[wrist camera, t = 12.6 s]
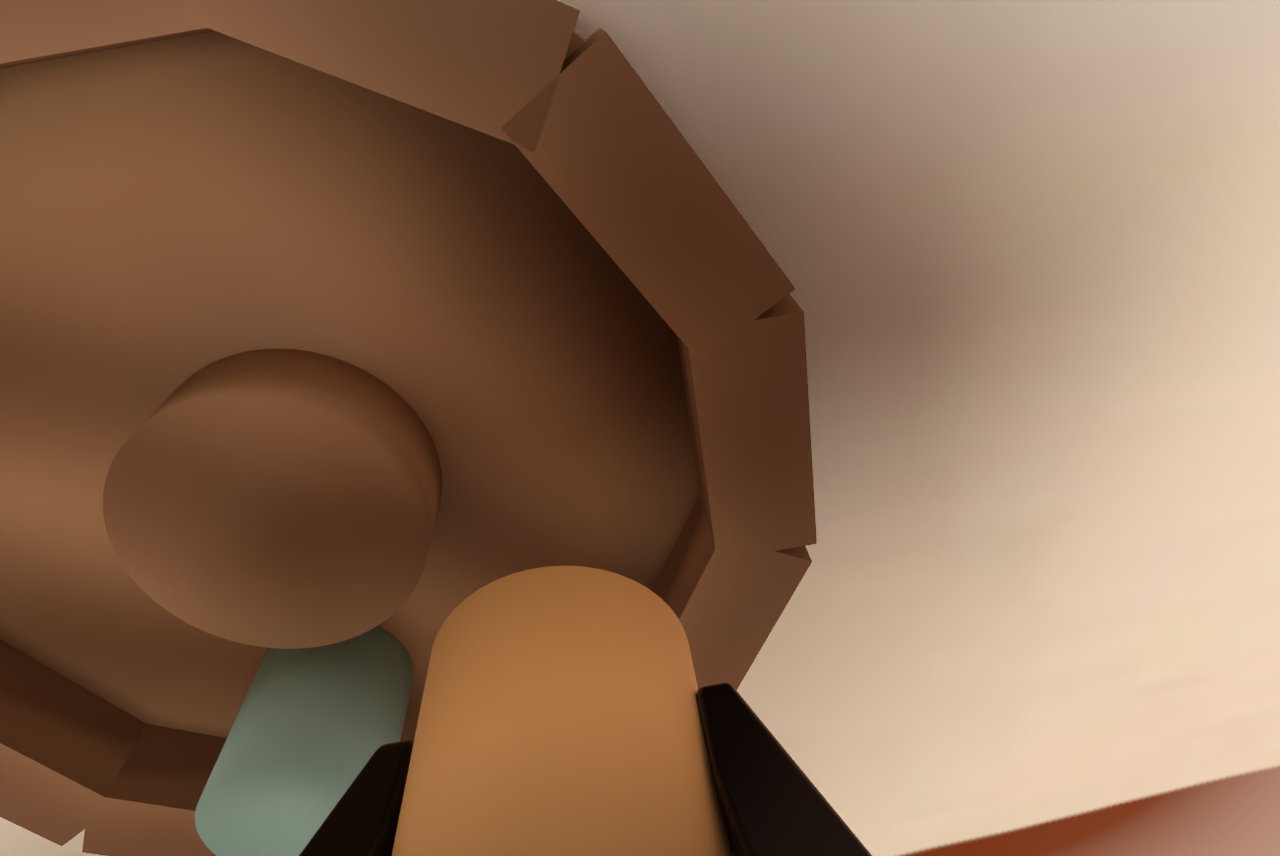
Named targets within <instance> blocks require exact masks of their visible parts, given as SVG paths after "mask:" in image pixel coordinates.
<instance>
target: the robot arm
mask: <svg viewBox="0 0 1280 856" xmlns="http://www.w3.org/2000/svg"><path fill="white" fill-rule="evenodd" d="M697 699H698V704H699V709H700V714H701V719H702V724H703V729H704V734H705V738H706V743H707V748H708V753H709V758H710V763H711V768H712V773H713V778H714V783H715V787H716V791H717V796H718V800H719V804H720V807H721V811H722V815H723V819H724V823H725V827H726V831H727V834H728V838H729V843H730V848H731V853H732V856H872V855H871V854H870V853H869V851H868V850H867V849H866V848H865V847H864V845H863V844H862V843H861V842H860V840H859V839H858V838H857V837H856V836H855V834H854V833H853V832H852V831H851V830H850V828H849V827H848V826H847V825H846V823H845V822H844V821H843V820H842V819H841V817H840V816H839V815H838V814H837V813H836V811H835V810H834V809H833V808H832V806H831V805H830V804H829V803H828V802H827V800H826V799H825V798H824V797H823V795H822V794H821V793H820V792H819V791H818V789H817V788H816V787H815V786H814V785H813V783H812V782H811V781H810V780H809V778H808V777H807V776H806V775H805V774H804V772H803V771H802V770H801V769H800V768H799V766H798V765H797V764H796V763H795V761H794V760H793V759H792V758H791V757H790V755H789V754H788V753H787V752H786V750H785V749H784V748H783V747H782V746H781V744H780V743H779V742H778V741H777V740H776V738H775V737H774V736H773V735H772V733H771V732H770V731H769V730H768V729H767V727H766V726H765V725H764V724H763V722H762V721H761V720H760V719H759V718H758V716H757V715H756V714H755V713H754V712H753V710H752V709H751V708H750V707H749V705H748V704H747V703H746V702H745V701H744V699H743V698H742V697H741V696H740V695H739V693H738V692H737V691H736V690H735V688H734V687H733V686H731V685H730V684H728V683H721V684H715V685H710V686H704V687H701V688H699V689H698V691H697ZM413 743H414V741H413V740H406V741H400V742H394V743H389V744H384V745H382V746H380V747H379V748H378V749H377V750H376V751H375V752H374V754H373V755H372V756H371V758H370V759H369V761H368V762H367V763H366V765H365V766H364V767H363V769H362V770H361V771H360V773H359V774H358V776H357V777H356V778H355V780H354V781H353V782H352V784H351V785H350V787H349V788H348V789H347V791H346V792H345V793H344V795H343V796H342V797H341V799H340V800H339V802H338V803H337V804H336V806H335V807H334V808H333V810H332V811H331V812H330V814H329V815H328V817H327V818H326V819H325V821H324V822H323V823H322V825H321V826H320V828H319V829H318V830H317V832H316V833H315V834H314V836H313V837H312V838H311V840H310V841H309V843H308V844H307V845H306V847H305V848H304V849H303V851H302V852H301V854H300V855H299V856H392V851H393V846H394V841H395V836H396V831H397V826H398V820H399V815H400V810H401V805H402V800H403V795H404V790H405V785H406V779H407V774H408V769H409V764H410V759H411V754H412V749H413Z"/></svg>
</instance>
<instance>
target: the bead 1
mask: <svg viewBox="0 0 1280 856" xmlns="http://www.w3.org/2000/svg"><path fill="white" fill-rule="evenodd" d="M413 677H414V670H413V664H412V660H411V658H410V656H409V654H408V652H407V650H406V649H405V647H404V646H403V645H402V644H401V643H400V641H399V640H398V639H396V638H395V637H394V636H393V635H392V634H390V633H389V632H388V631H386V630H384V629H383V628H381V627H379V626H376V627H375V628H373V629H371V630H369V631H367V632H365V633H363V634H361V635H359V636H356V637H353V638H350V639H348V640H345V641H342V642H338V643H334V644H330V645H325V646H319V647H311V648H299V649H280V648H267V650H266V652H265V655H264V657H263V659H262V661H261V664H260V666H259V668H258V670H257V673H256V675H255V677H254V679H253V681H252V684H251V686H250V688H249V690H248V693H247V695H246V697H245V699H244V701H243V704H242V706H241V708H240V710H239V713H238V715H237V717H236V719H235V721H234V724H233V726H232V728H231V730H230V733H229V735H228V737H227V739H226V742H225V744H224V746H223V748H222V750H221V753H220V755H219V757H218V759H217V762H216V764H215V766H214V768H213V770H212V773H211V775H210V777H209V779H208V782H207V784H206V786H205V788H204V790H203V793H202V795H201V797H200V799H199V802H198V804H197V807H196V811H195V825H196V829H197V832H198V834H199V836H200V838H201V840H202V841H203V842H204V844H205V845H206V846H207V847H208V848H209V849H210V850H211V852H213V853H214V854H215V855H216V856H299V855H300V854H301V852H302V851H303V849H304V848H305V847H306V845H307V844H308V843H309V841H310V840H311V838H312V837H313V836H314V834H315V833H316V832H317V830H318V829H319V828H320V826H321V825H322V823H323V822H324V821H325V819H326V818H327V817H328V815H329V814H330V812H331V811H332V810H333V808H334V807H335V806H336V804H337V803H338V802H339V800H340V799H341V797H342V796H343V795H344V793H345V792H346V791H347V789H348V788H349V787H350V785H351V784H352V782H353V781H354V780H355V778H356V777H357V776H358V774H359V773H360V771H361V770H362V769H363V767H364V766H365V765H366V763H367V762H368V761H369V759H370V758H371V756H372V755H373V754H374V752H375V751H376V750H377V749H378V748H379V747H380V746H382V745H384V744H389V743H394V742H400V739H401V735H402V730H403V725H404V721H405V716H406V711H407V707H408V702H409V697H410V693H411V688H412V683H413Z"/></svg>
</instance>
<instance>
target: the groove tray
mask: <svg viewBox="0 0 1280 856" xmlns="http://www.w3.org/2000/svg"><path fill="white" fill-rule="evenodd" d="M578 14H579V10H577V9H574V8H572V7H570V6H568V5H565V4H563V3H561V2H558V1H556V0H0V817H2V818H4V819H6V820H8V821H10V822H13V823H15V824H17V825H19V826H21V827H23V828H25V829H27V830H29V831H31V832H33V833H36V834H38V835H40V836H42V837H44V838H46V839H48V840H50V841H52V842H54V843H56V844H59V845H61V846H63V845H64V844H65V843H67V842H68V841H69V840H70V839H72V838H73V837H74V836H76V835H77V834H78V833H80V832H81V831H82V830H84V829H85V835H84V843H83V851H82V852H85V853H92V854H100V855H107V856H216V855H215V854H214V853H213V852H211V850H210V849H209V848H208V847H207V846H206V845H205V844H204V842H203V841H202V840H201V838H200V836H199V834H198V832H197V829H196V825H195V811H196V807H197V804H198V802H199V799H200V797H201V795H202V793H203V790H204V788H205V786H206V784H207V782H208V779H209V777H210V775H211V773H212V770H213V768H214V766H215V764H216V762H217V759H218V757H219V755H220V753H221V750H222V748H223V746H224V744H225V742H226V739H227V737H228V735H229V733H230V730H231V728H232V726H233V724H234V721H235V719H236V717H237V715H238V713H239V710H240V708H241V706H242V704H243V701H244V699H245V697H246V695H247V693H248V690H249V688H250V686H251V684H252V681H253V679H254V677H255V675H256V673H257V670H258V668H259V666H260V664H261V661H262V659H263V657H264V655H265V652H266V650H267V648H280V649H299V648H311V647H319V646H325V645H330V644H334V643H338V642H342V641H345V640H348V639H350V638H353V637H356V636H359V635H361V634H363V633H365V632H367V631H369V630H371V629H373V628H375V627H376V626H379V627H381V628H383V629H384V630H386V631H388V632H389V633H390V634H392V635H393V636H394V637H395V638H396V639H398V640H399V641H400V643H401V644H402V645H403V646H404V647H405V649H406V650H407V652H408V654H409V656H410V658H411V660H412V664H413V670H414V677H413V683H412V688H411V693H410V697H409V702H408V707H407V711H406V716H405V721H404V725H403V730H402V735H401V739H400V741H406V740H413V741H414V738H415V733H416V728H417V723H418V718H419V713H420V707H421V702H422V697H423V692H424V687H425V682H426V677H427V672H428V666H429V661H430V656H431V651H432V646H433V643H434V641H435V638H436V635H437V633H438V631H439V630H440V628H441V626H442V624H443V623H444V621H445V620H446V619H447V617H448V616H449V615H450V614H451V612H452V611H453V610H454V609H455V608H456V607H457V606H458V605H459V604H460V603H461V602H462V601H463V600H465V599H466V598H467V597H468V596H470V595H471V594H473V593H474V592H476V591H477V590H478V589H480V588H482V587H484V586H486V585H487V584H489V583H491V582H493V581H495V580H498V579H500V578H503V577H505V576H508V575H510V574H514V573H517V572H521V571H525V570H528V569H534V568H541V567H547V566H584V567H590V568H596V569H602V570H606V571H609V572H613V573H617V574H619V575H622V576H624V577H627V578H629V579H632V580H634V581H636V582H638V583H640V584H641V585H643V586H645V587H647V588H648V589H650V590H651V591H652V592H654V593H655V594H656V595H658V596H659V597H660V598H661V599H662V600H663V601H664V602H665V603H666V604H667V605H668V606H669V607H670V608H671V609H672V610H673V612H674V613H675V614H676V616H677V617H678V618H679V620H680V622H681V624H682V626H683V628H684V630H685V633H686V636H687V639H688V643H689V647H690V652H691V657H692V662H693V667H694V672H695V677H696V682H697V686H698V689H699V688H701V687H704V686H710V685H715V684H721V683H728V684H730V685H731V686H733V687H734V688H735V690H737V688H738V687H739V685H740V683H741V682H742V680H743V678H744V676H745V675H746V673H747V671H748V670H749V668H750V666H751V664H752V663H753V661H754V659H755V658H756V656H757V654H758V653H759V651H760V649H761V647H762V646H763V644H764V642H765V641H766V639H767V637H768V635H769V634H770V632H771V630H772V629H773V627H774V625H775V624H776V622H777V620H778V618H779V617H780V615H781V613H782V612H783V610H784V608H785V606H786V605H787V603H788V601H789V600H790V598H791V596H792V595H793V593H794V591H795V589H796V588H797V586H798V584H799V583H800V581H801V579H802V577H803V576H804V574H805V572H806V571H807V569H808V567H809V566H810V564H811V562H812V561H811V558H810V556H809V554H808V552H807V550H806V547H805V545H811V544H816V525H815V507H814V490H813V472H812V454H811V437H810V419H809V401H808V384H807V366H806V348H805V331H804V313H803V311H802V309H801V308H800V307H799V305H798V304H797V303H796V302H795V300H794V299H793V298H792V297H791V295H790V294H789V293H790V292H792V291H793V290H794V289H795V288H794V286H793V285H792V284H791V282H790V281H789V280H788V278H787V277H786V276H785V274H784V273H783V272H782V270H781V269H780V267H779V266H778V265H777V263H776V262H775V261H774V259H773V258H772V257H771V255H770V254H769V253H768V251H767V250H766V248H765V247H764V246H763V244H762V243H761V242H760V240H759V239H758V238H757V236H756V235H755V234H754V232H753V231H752V229H751V228H750V227H749V225H748V224H747V223H746V221H745V220H744V219H743V217H742V216H741V215H740V213H739V212H738V211H737V209H736V208H735V206H734V205H733V204H732V202H731V201H730V200H729V198H728V197H727V196H726V194H725V193H724V192H723V190H722V189H721V187H720V186H719V185H718V183H717V182H716V181H715V179H714V178H713V177H712V175H711V174H710V173H709V171H708V170H707V168H706V167H705V166H704V164H703V163H702V162H701V160H700V159H699V158H698V156H697V155H696V154H695V152H694V151H693V150H692V148H691V147H690V145H689V144H688V143H687V141H686V140H685V139H684V137H683V136H682V135H681V133H680V132H679V131H678V129H677V128H676V126H675V125H674V124H673V122H672V121H671V120H670V118H669V117H668V116H667V114H666V113H665V112H664V110H663V109H662V107H661V106H660V105H659V103H658V102H657V101H656V99H655V98H654V97H653V95H652V94H651V93H650V91H649V90H648V88H647V87H646V86H645V84H644V83H643V82H642V80H641V79H640V78H639V76H638V75H637V74H636V72H635V71H634V70H633V68H632V67H631V65H630V64H629V63H628V61H627V60H626V59H625V57H624V56H623V55H622V53H621V52H620V51H619V49H618V48H617V46H616V45H615V44H614V42H613V41H612V40H611V38H610V37H609V36H608V34H607V33H606V32H605V31H604V30H602V29H601V28H599V29H598V30H596V31H595V32H594V33H593V34H592V35H591V36H590V37H589V38H588V39H587V40H586V41H585V40H584V39H583V38H582V37H581V36H580V35H579V34H578V33H576V32H575V31H574V27H575V24H576V21H577V18H578Z"/></svg>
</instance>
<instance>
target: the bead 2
mask: <svg viewBox="0 0 1280 856" xmlns="http://www.w3.org/2000/svg"><path fill="white" fill-rule="evenodd" d="M697 691H698V686H697V682H696V677H695V672H694V667H693V662H692V657H691V652H690V647H689V643H688V639H687V636H686V633H685V630H684V628H683V626H682V624H681V622H680V620H679V618H678V617H677V616H676V614H675V613H674V612H673V610H672V609H671V608H670V607H669V606H668V605H667V604H666V603H665V602H664V601H663V600H662V599H661V598H660V597H659V596H658V595H656V594H655V593H654V592H652V591H651V590H650V589H648V588H647V587H645V586H643V585H641V584H640V583H638V582H636V581H634V580H632V579H629V578H627V577H624V576H622V575H619V574H617V573H613V572H609V571H606V570H602V569H596V568H590V567H584V566H547V567H541V568H534V569H528V570H525V571H521V572H517V573H514V574H510V575H508V576H505V577H503V578H500V579H498V580H495V581H493V582H491V583H489V584H487V585H486V586H484V587H482V588H480V589H478V590H477V591H476V592H474V593H473V594H471V595H470V596H468V597H467V598H466V599H465V600H463V601H462V602H461V603H460V604H459V605H458V606H457V607H456V608H455V609H454V610H453V611H452V612H451V614H450V615H449V616H448V617H447V619H446V620H445V621H444V623H443V624H442V626H441V628H440V630H439V631H438V633H437V635H436V638H435V641H434V643H433V646H432V651H431V656H430V661H429V666H428V672H427V677H426V682H425V687H424V692H423V697H422V702H421V707H420V713H419V718H418V723H417V728H416V733H415V738H414V743H413V749H412V754H411V759H410V764H409V769H408V774H407V779H406V785H405V790H404V795H403V800H402V805H401V810H400V815H399V820H398V826H397V831H396V836H395V841H394V846H393V851H392V856H732V853H731V848H730V843H729V838H728V834H727V831H726V827H725V823H724V819H723V815H722V811H721V807H720V804H719V800H718V796H717V791H716V787H715V783H714V778H713V773H712V768H711V763H710V758H709V753H708V748H707V743H706V738H705V734H704V729H703V724H702V719H701V714H700V709H699V704H698V699H697Z"/></svg>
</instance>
